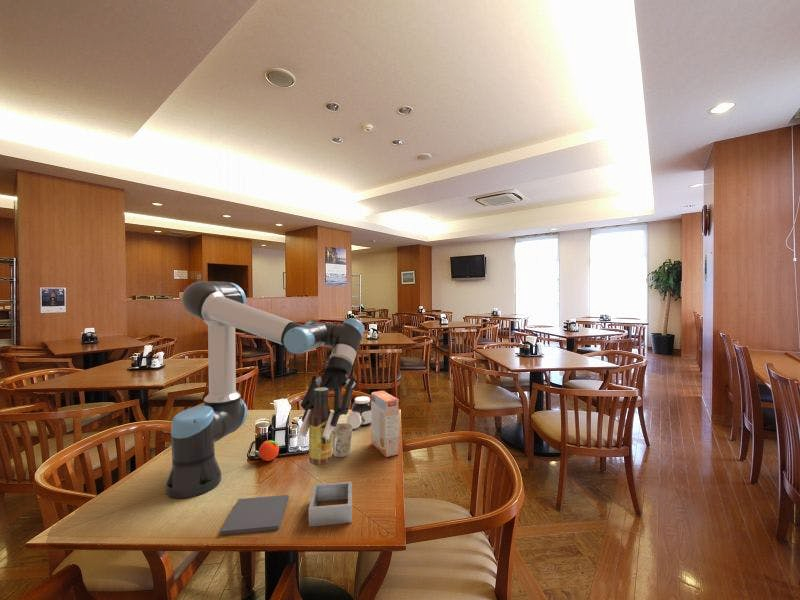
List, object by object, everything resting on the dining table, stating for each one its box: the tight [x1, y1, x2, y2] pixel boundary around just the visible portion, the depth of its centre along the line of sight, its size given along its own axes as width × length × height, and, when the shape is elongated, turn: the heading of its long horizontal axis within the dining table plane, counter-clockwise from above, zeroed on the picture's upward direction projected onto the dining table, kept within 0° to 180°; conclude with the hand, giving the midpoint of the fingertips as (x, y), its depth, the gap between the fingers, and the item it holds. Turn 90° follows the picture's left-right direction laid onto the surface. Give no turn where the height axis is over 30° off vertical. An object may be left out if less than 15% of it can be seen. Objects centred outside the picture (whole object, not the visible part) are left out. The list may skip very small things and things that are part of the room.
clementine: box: [258, 439, 281, 462], centre depth 129 cm, size 8×7×7 cm
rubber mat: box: [220, 494, 290, 536], centre depth 97 cm, size 14×14×1 cm
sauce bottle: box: [308, 386, 333, 466], centre depth 97 cm, size 7×6×20 cm
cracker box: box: [370, 390, 400, 458], centre depth 136 cm, size 14×6×21 cm, turn 26°
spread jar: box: [346, 396, 371, 430], centre depth 162 cm, size 12×11×12 cm
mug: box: [332, 422, 353, 458], centre depth 131 cm, size 8×13×10 cm, turn 174°
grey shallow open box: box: [308, 481, 353, 527], centre depth 98 cm, size 11×12×4 cm
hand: (314, 435), depth 94 cm, fingers closed on sauce bottle, 6 cm apart
